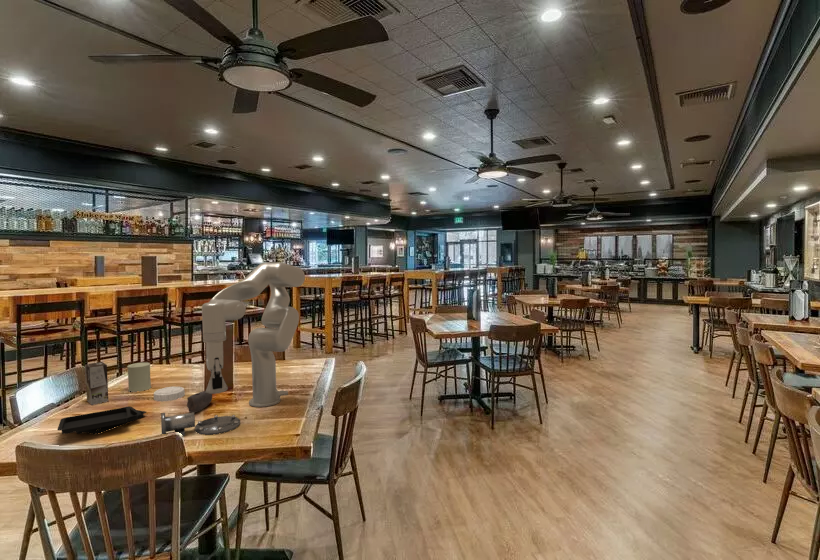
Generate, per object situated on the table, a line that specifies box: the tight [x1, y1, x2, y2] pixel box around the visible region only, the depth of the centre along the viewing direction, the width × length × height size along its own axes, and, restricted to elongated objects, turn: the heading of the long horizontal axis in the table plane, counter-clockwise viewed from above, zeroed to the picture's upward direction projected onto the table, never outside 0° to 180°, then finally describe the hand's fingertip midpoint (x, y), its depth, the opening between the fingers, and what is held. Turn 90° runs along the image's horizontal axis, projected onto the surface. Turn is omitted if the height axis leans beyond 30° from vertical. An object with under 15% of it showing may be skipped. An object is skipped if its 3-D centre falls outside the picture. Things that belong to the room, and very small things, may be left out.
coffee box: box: [84, 361, 109, 406], centre depth 186 cm, size 9×6×16 cm
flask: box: [205, 368, 229, 395], centre depth 156 cm, size 7×7×10 cm
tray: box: [57, 406, 147, 435], centre depth 157 cm, size 30×23×5 cm
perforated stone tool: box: [186, 390, 213, 414], centre depth 175 cm, size 15×5×7 cm, turn 171°
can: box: [126, 362, 152, 393], centre depth 203 cm, size 9×9×12 cm
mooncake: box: [153, 385, 185, 402], centre depth 191 cm, size 12×12×4 cm
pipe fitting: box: [160, 412, 241, 437], centre depth 154 cm, size 25×15×8 cm, turn 120°
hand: (216, 385), depth 156 cm, fingers closed on flask, 5 cm apart
